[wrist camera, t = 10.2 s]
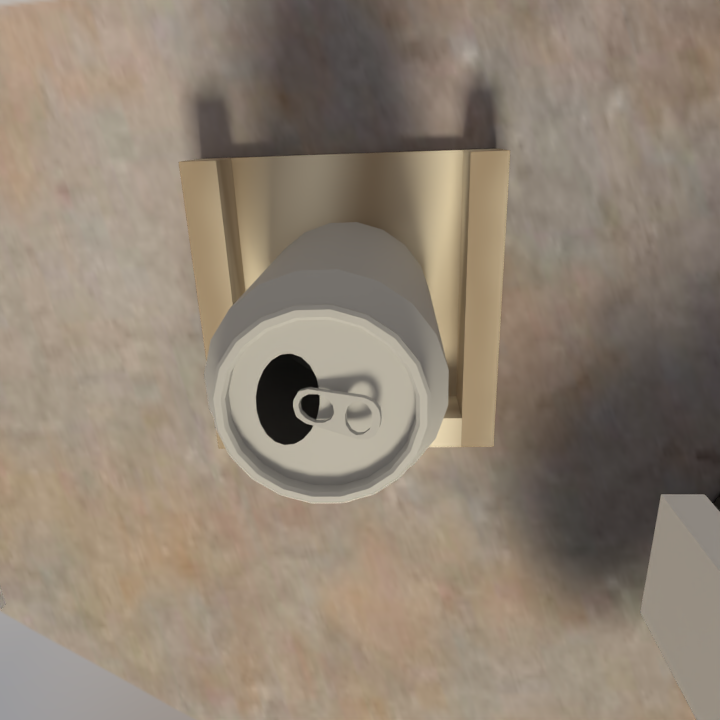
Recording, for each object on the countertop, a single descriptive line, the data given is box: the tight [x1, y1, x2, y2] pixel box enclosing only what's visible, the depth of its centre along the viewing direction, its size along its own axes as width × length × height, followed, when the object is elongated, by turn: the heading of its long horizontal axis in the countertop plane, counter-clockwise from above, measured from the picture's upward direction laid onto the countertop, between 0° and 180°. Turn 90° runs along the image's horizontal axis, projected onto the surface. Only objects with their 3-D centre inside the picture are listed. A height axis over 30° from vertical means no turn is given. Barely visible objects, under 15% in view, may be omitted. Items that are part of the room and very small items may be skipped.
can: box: [204, 222, 449, 503], centre depth 22 cm, size 8×8×12 cm
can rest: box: [179, 149, 510, 449], centre depth 26 cm, size 13×13×3 cm
